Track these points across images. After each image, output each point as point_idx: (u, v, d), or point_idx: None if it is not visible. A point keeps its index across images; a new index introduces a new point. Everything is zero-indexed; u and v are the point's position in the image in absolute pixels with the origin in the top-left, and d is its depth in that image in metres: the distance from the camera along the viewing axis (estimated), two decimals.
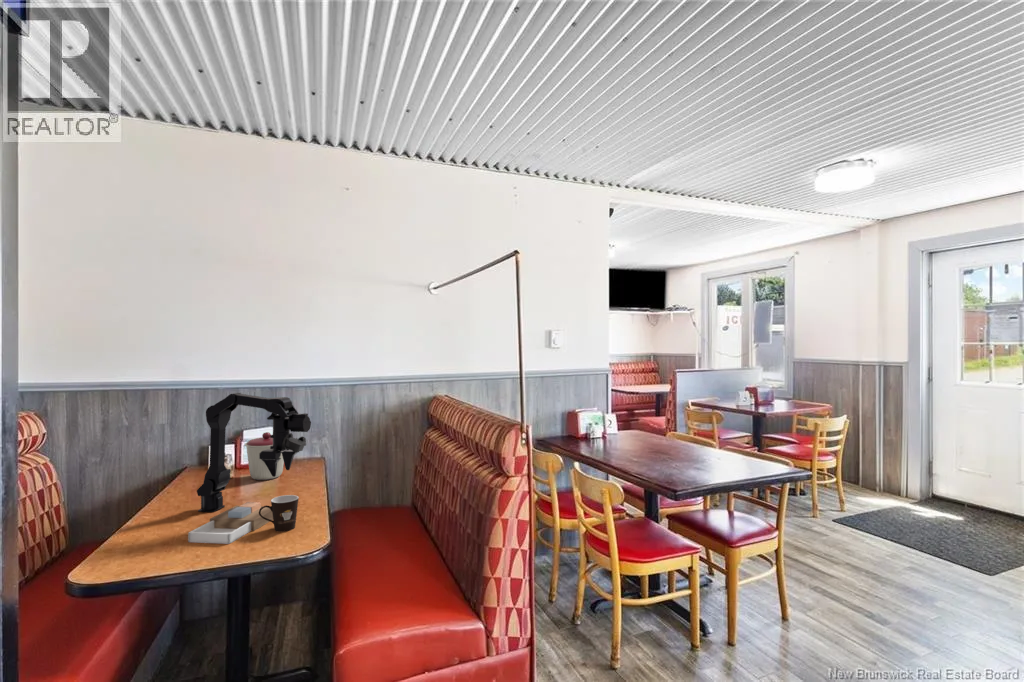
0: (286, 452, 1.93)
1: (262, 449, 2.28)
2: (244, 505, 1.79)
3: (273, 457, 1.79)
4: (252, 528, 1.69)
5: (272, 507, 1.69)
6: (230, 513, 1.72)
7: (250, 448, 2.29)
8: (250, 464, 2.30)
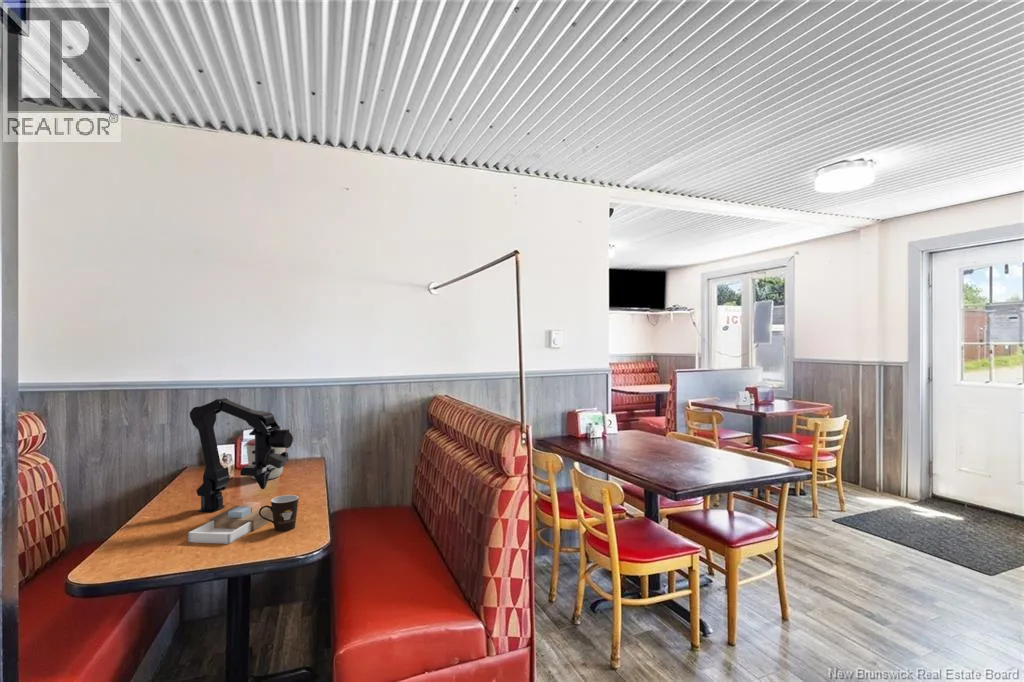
0: None
1: None
2: (244, 505, 1.79)
3: (254, 473, 1.78)
4: (252, 528, 1.69)
5: (272, 507, 1.69)
6: (230, 513, 1.72)
7: (250, 448, 2.29)
8: (250, 464, 2.30)
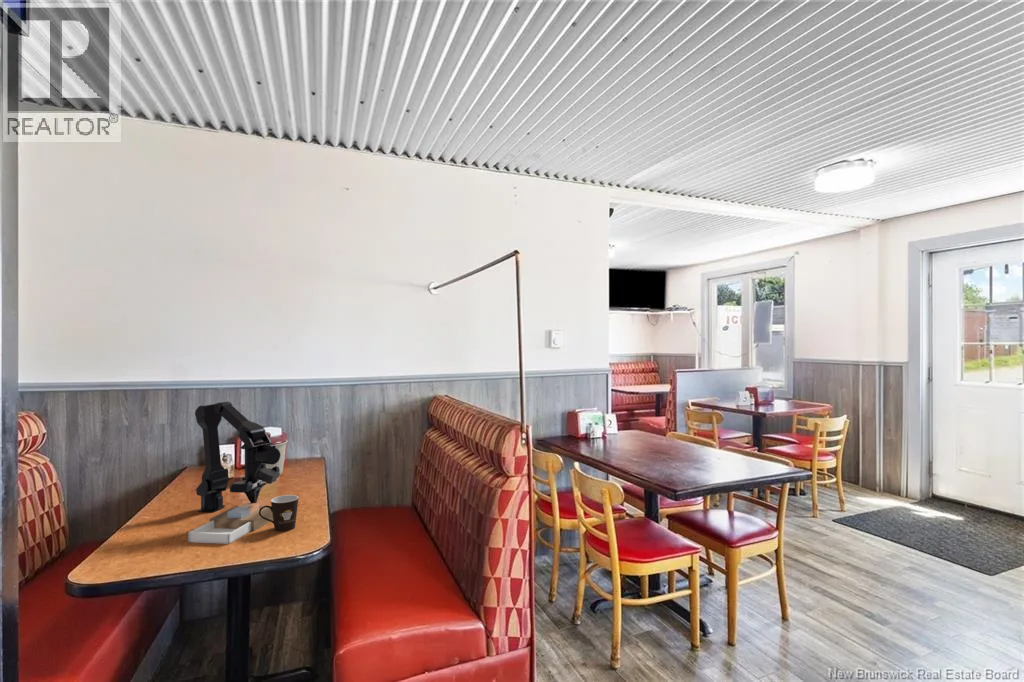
0: None
1: None
2: (242, 506, 1.78)
3: (244, 490, 1.73)
4: (252, 528, 1.69)
5: (272, 507, 1.69)
6: (229, 513, 1.71)
7: None
8: None
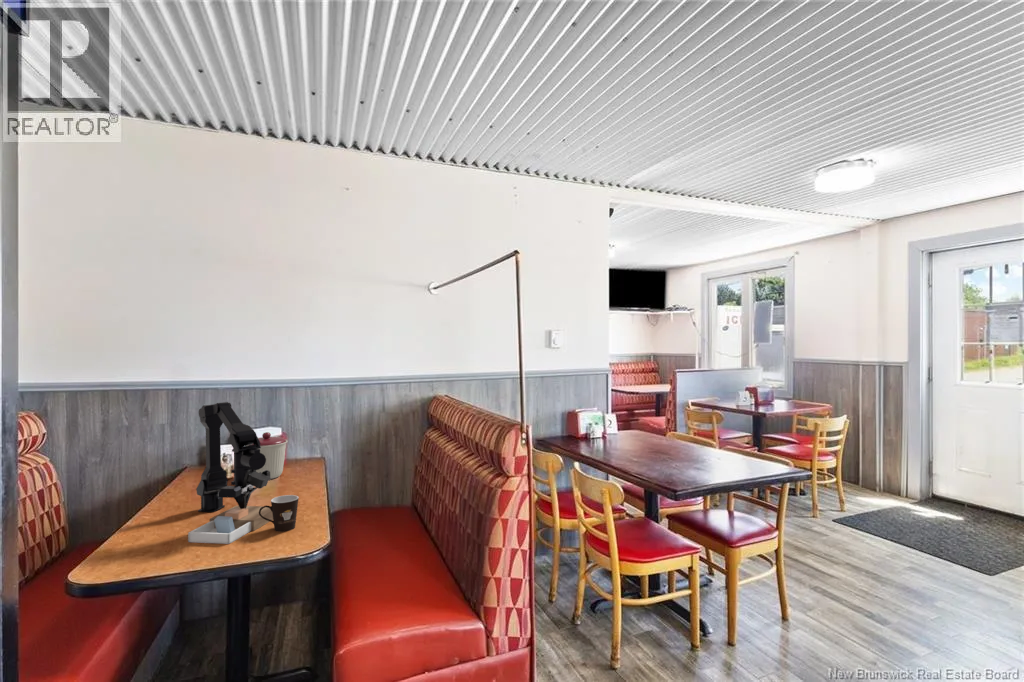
0: None
1: (262, 449, 2.28)
2: (231, 511, 1.72)
3: (233, 495, 1.67)
4: (252, 528, 1.69)
5: (272, 507, 1.69)
6: None
7: None
8: None
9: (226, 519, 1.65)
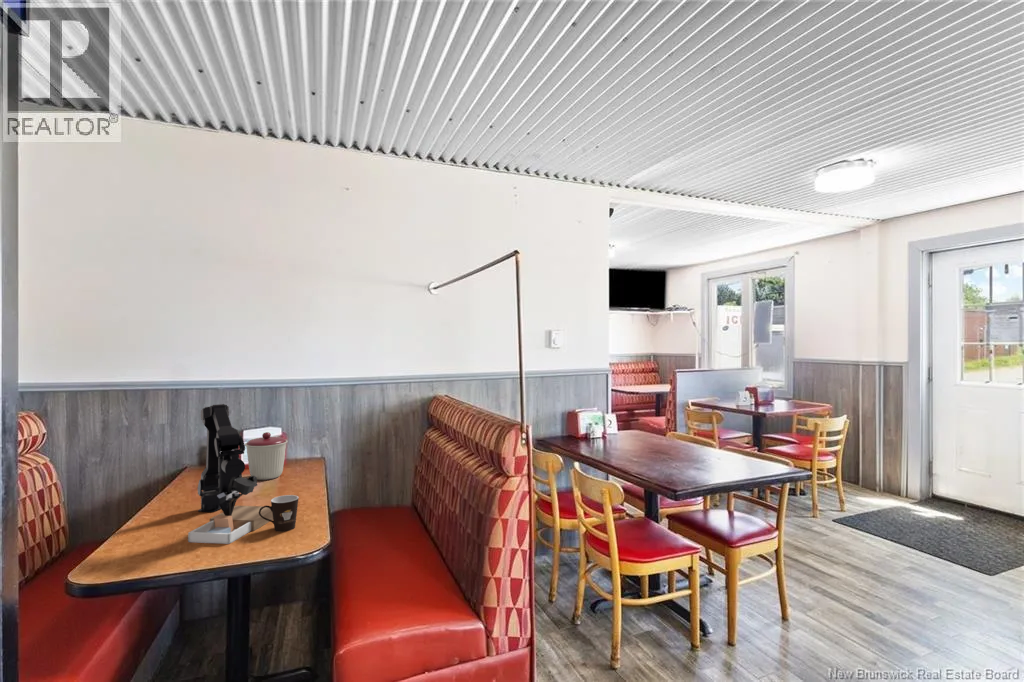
0: None
1: (262, 449, 2.28)
2: None
3: (216, 502, 1.59)
4: (252, 528, 1.69)
5: (272, 507, 1.69)
6: None
7: (250, 448, 2.29)
8: (250, 464, 2.30)
9: None
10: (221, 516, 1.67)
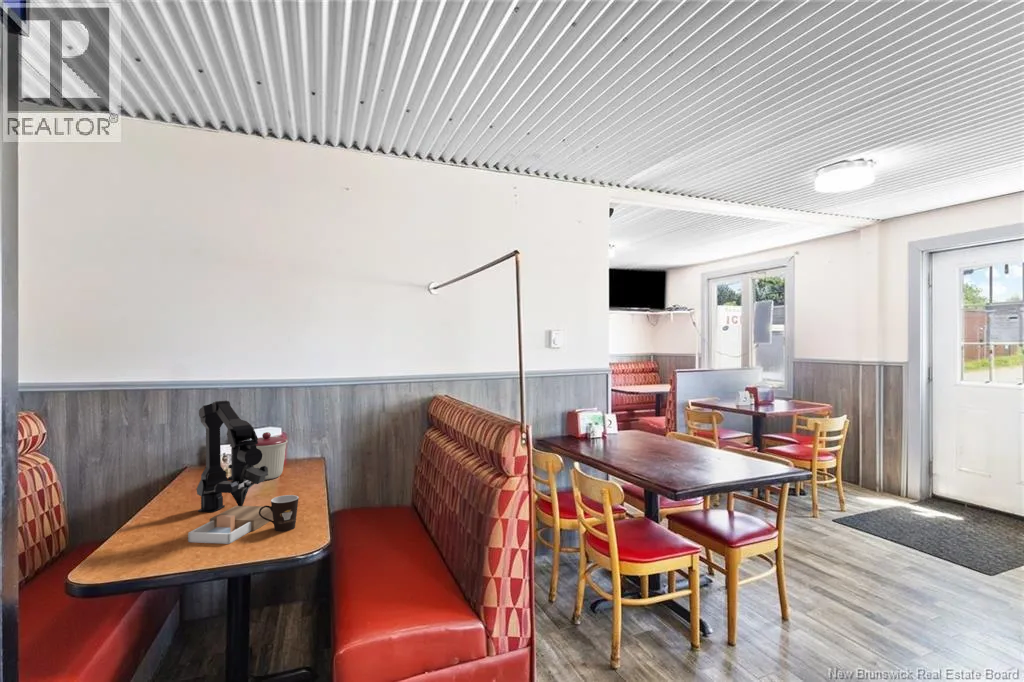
0: None
1: (262, 449, 2.28)
2: None
3: (229, 490, 1.65)
4: (252, 528, 1.69)
5: (272, 507, 1.69)
6: None
7: None
8: None
9: None
10: (224, 515, 1.68)
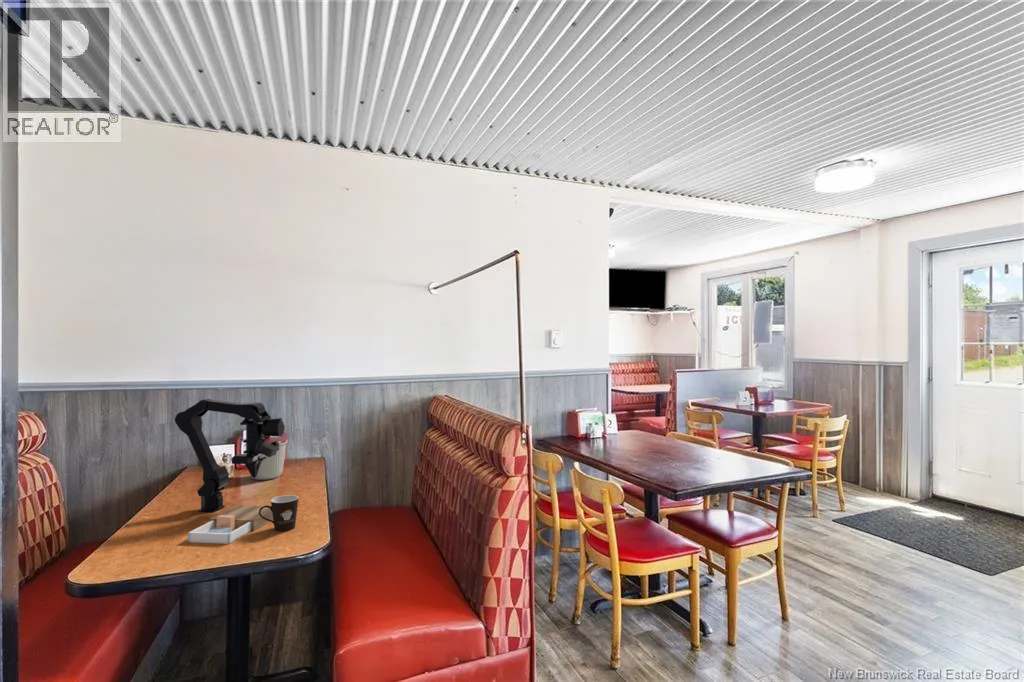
0: None
1: None
2: None
3: (245, 462, 1.82)
4: (252, 528, 1.69)
5: (272, 507, 1.69)
6: None
7: None
8: None
9: None
10: (224, 515, 1.68)
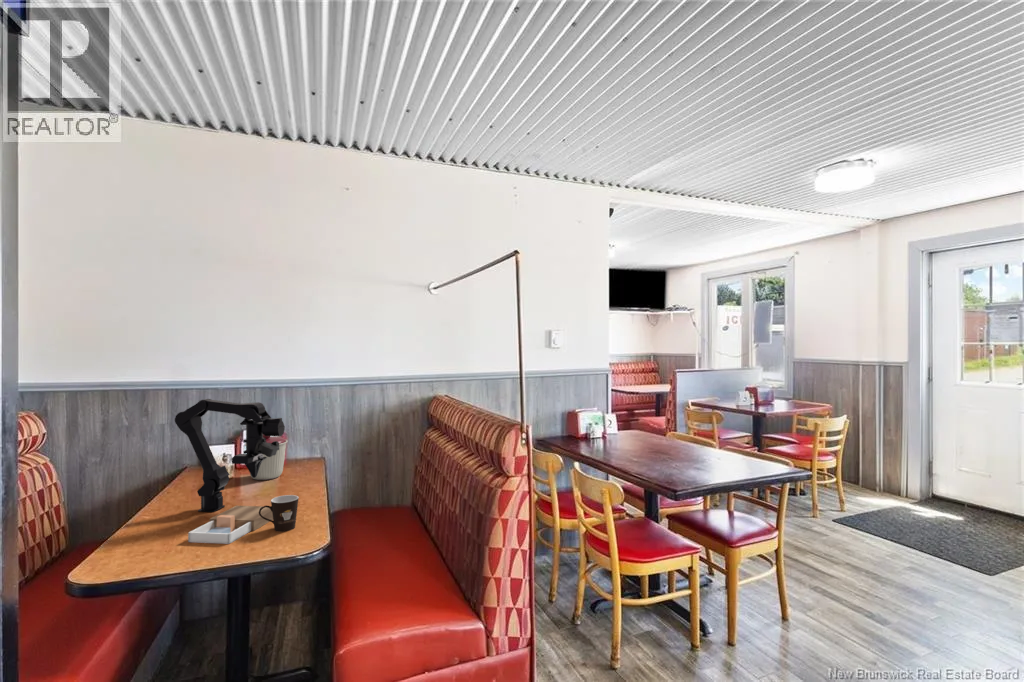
0: None
1: None
2: None
3: (245, 462, 1.82)
4: (252, 528, 1.69)
5: (272, 507, 1.69)
6: None
7: None
8: None
9: None
10: (224, 515, 1.68)
